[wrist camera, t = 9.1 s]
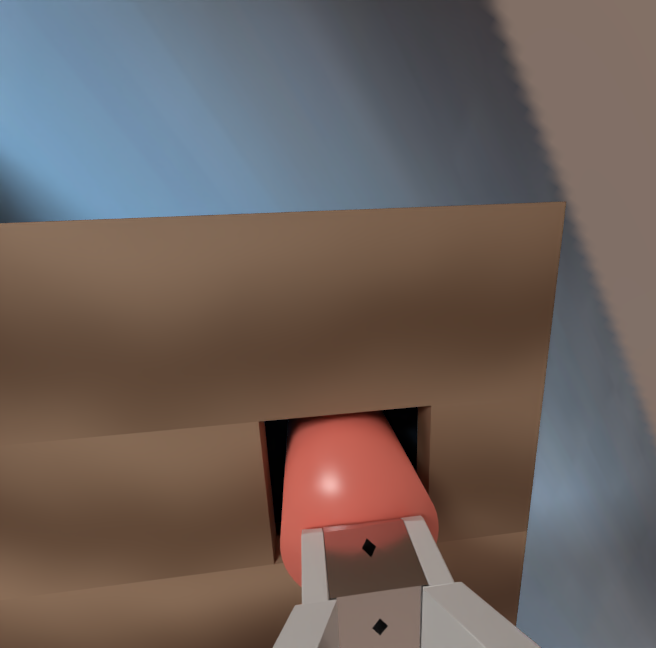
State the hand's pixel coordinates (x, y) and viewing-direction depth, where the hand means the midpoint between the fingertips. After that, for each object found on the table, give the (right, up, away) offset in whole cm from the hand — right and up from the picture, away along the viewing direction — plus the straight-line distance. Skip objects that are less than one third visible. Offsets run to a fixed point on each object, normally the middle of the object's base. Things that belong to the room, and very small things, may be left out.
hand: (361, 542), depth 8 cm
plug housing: (-8, +1, +7) cm, 10 cm away
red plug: (-1, +1, +6) cm, 7 cm away
